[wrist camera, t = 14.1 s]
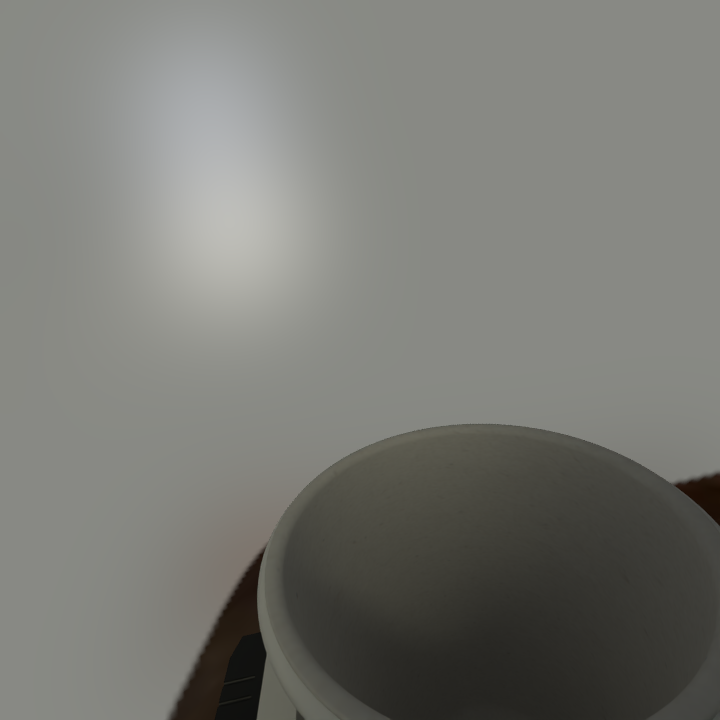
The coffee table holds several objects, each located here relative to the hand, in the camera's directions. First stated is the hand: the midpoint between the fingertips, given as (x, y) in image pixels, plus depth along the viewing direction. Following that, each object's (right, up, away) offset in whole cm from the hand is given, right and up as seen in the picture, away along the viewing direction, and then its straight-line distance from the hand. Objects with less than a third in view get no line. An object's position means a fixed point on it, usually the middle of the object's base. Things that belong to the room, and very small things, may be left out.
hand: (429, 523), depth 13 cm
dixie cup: (+2, -7, -3) cm, 8 cm away
